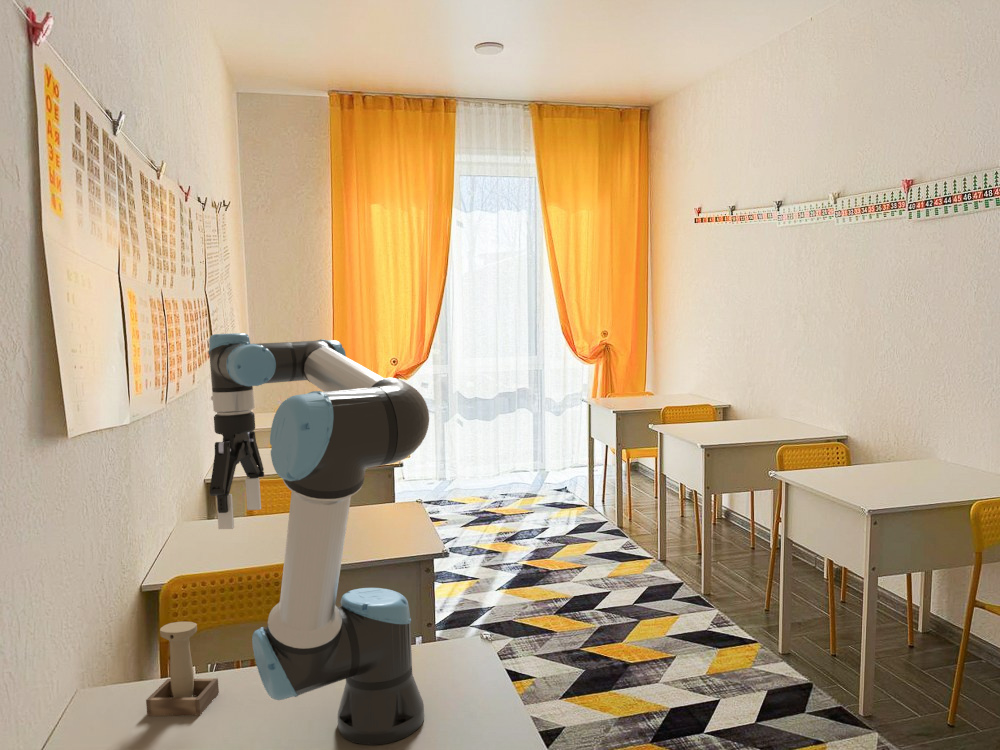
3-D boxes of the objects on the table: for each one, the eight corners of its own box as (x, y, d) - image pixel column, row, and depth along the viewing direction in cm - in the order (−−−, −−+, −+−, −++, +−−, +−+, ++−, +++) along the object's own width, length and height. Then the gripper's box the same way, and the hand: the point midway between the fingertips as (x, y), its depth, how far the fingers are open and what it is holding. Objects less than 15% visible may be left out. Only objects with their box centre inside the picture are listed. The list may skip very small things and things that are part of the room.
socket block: (218, 693, 141) (217, 678, 141) (200, 715, 134) (199, 699, 133) (168, 693, 142) (167, 678, 142) (147, 715, 134) (146, 700, 134)
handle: (193, 711, 135) (187, 632, 134) (160, 710, 136) (154, 632, 135) (206, 697, 140) (201, 621, 139) (174, 696, 141) (169, 621, 140)
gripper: (241, 404, 156) (247, 502, 157) (184, 422, 131) (192, 538, 132) (275, 403, 155) (281, 502, 157) (225, 420, 130) (233, 537, 132)
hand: (241, 518), depth 145 cm, fingers open, 13 cm apart
